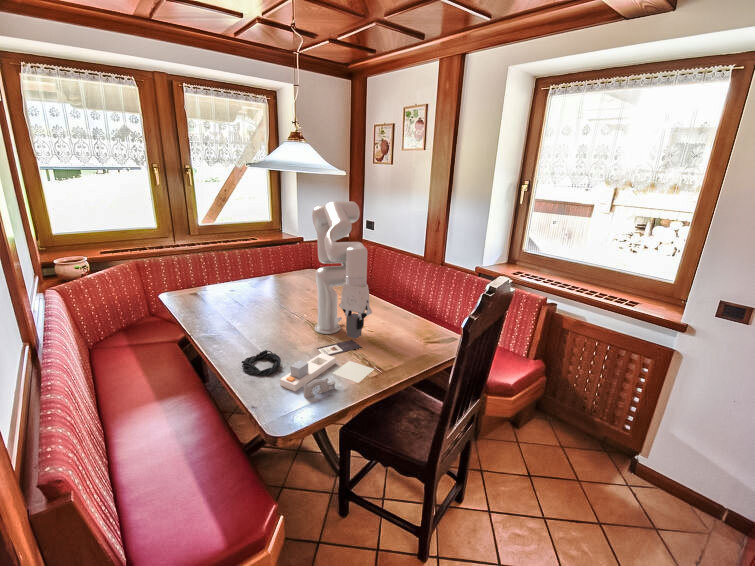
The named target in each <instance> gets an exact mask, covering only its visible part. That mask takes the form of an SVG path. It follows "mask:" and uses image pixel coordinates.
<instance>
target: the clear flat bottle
mask: <svg viewBox="0 0 755 566" xmlns="http://www.w3.org/2000/svg"><path fill="white" fill-rule="evenodd" d="M335 384H336V381H335V380H332V381H331V382H330V381H329V377H326V378H323V379H317V378H316V379H312V380H311V381H310V382H308V383H307V384H305V385H303V386H302V387H303V397H304V399H307V398H310V397H315V394H318V395H321V394H323V393H325V392H328V391H333V390H334V389H336V387H335V386H336V385H335Z"/></svg>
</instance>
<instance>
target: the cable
mask: <svg viewBox="0 0 755 566" xmlns="http://www.w3.org/2000/svg"><path fill="white" fill-rule="evenodd" d="M263 359H268V360H269V361H270V362H271V363H273V365H272V367H269V368H265V369H262V370H260V368H258V367H257V366H256V365H255V364H254V362H255V361H257V360H263ZM281 362H282V359H281V357H280V356H279V355H277V353H273V352H272V351H271V350H268V349H265V350H262V351H260V352H259V353H256V354H254V355H252V356H250V357H246V358H244V360H241V364H242V368H243V370H244V372H245V373H246V374H247V375H248V374H249V375H252V376H257V377H268V376H269V375H271V374H275V373H276V372H277V371H278V369H279V368H280V367H281Z"/></svg>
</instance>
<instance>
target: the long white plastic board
mask: <svg viewBox="0 0 755 566" xmlns="http://www.w3.org/2000/svg"><path fill="white" fill-rule="evenodd" d="M305 362H306V363H308V373H307V375H305V376H304V377H302V378H301V379H297V378H294V377H292V376H291V371H290V372H289V373H287V374H286V375H284V376H283V377H280V379H279V385H280V387H282V388H285V389H287V390H290V391H293V392H297V391H298V390H300V389H302V387H303V385H307V384H309V383H310V382H311V381H313V380H315V378H317V377H318V376H319V375H321V374H323V373H324V372H325V371H326V370H328V369H329V368H331V367H333V366H334V365H335V364H336V357H335V356H333V355H332V356H329V355H326V354H323V353H321V352H320V353H319V354H318V355H316V356H314V357H313V358H311V359H310V360H307V361H305Z"/></svg>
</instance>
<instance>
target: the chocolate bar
mask: <svg viewBox="0 0 755 566" xmlns="http://www.w3.org/2000/svg"><path fill="white" fill-rule="evenodd" d="M359 348H362V349H363V346H361V345H360V343H358V342H356V341H355V340H353V339H348V340H345V341H340V342H336V343H332V344H327V345H324V346H320V347H316V350H317V351H319V352H320V354H321V353H323V354H326V355H329V356H332V357H333V356H335V355H338V354H339V355H340V354H343V353H347V352H350V351H357V350H356V349H358V350H360V349H359Z"/></svg>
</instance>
